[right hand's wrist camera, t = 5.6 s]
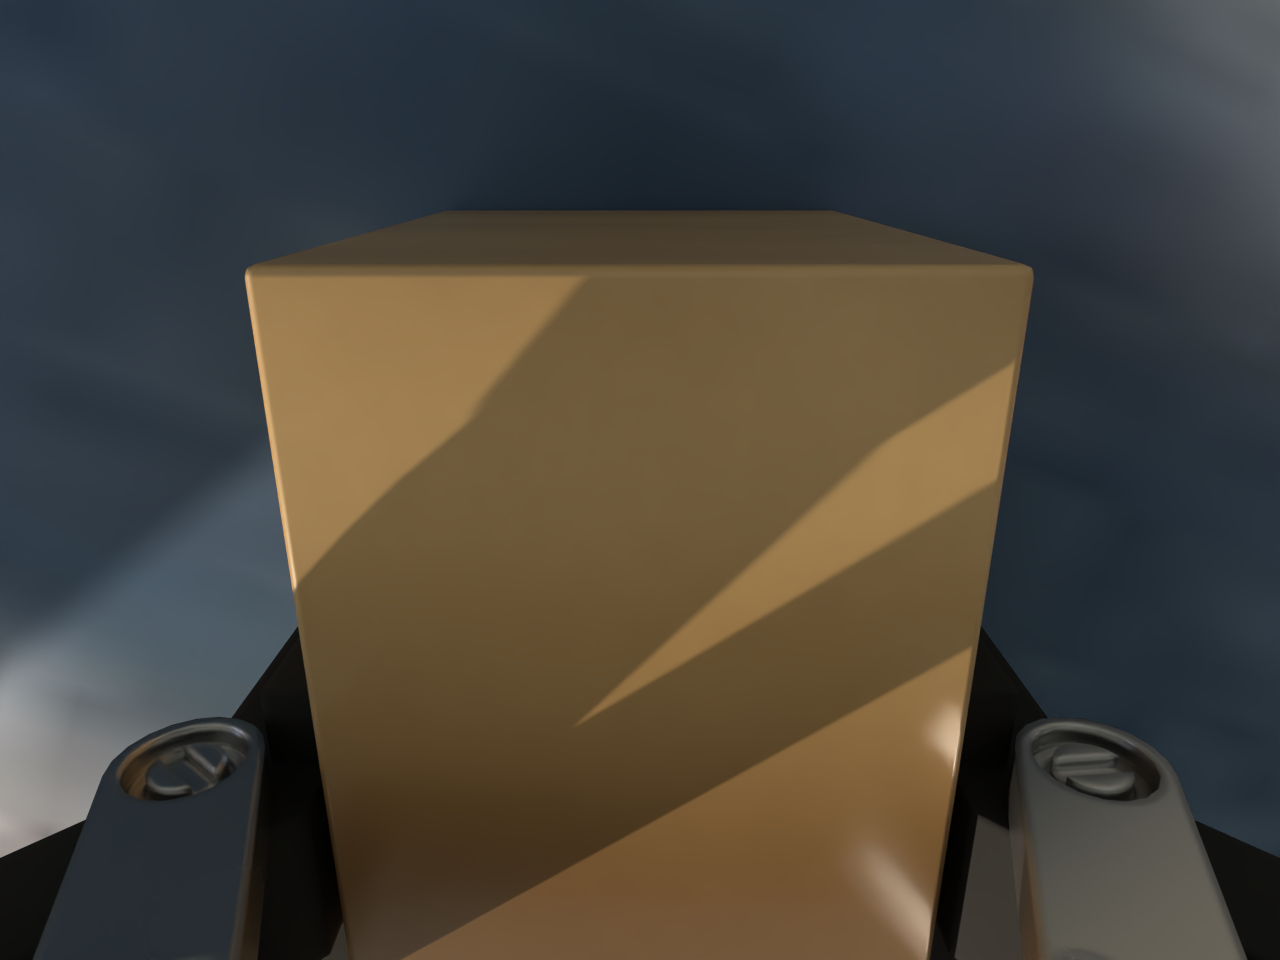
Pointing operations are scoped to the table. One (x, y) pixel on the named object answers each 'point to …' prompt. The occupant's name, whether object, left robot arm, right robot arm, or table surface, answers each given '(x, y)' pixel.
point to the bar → (639, 572)
